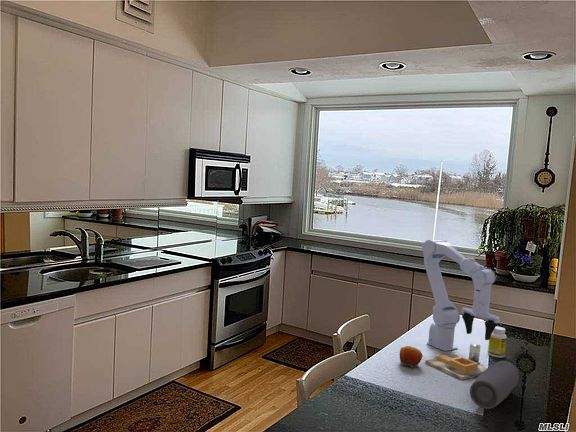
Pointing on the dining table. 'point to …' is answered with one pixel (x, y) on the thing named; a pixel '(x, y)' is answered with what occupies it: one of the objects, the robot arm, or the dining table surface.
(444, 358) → the bracket
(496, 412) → the dining table surface
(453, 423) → the dining table surface
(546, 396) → the dining table surface
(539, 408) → the dining table surface
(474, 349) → the pin
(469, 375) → the rosette board
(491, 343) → the pill bottle
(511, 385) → the bluetooth speaker
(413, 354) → the fruit
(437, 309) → the robot arm
